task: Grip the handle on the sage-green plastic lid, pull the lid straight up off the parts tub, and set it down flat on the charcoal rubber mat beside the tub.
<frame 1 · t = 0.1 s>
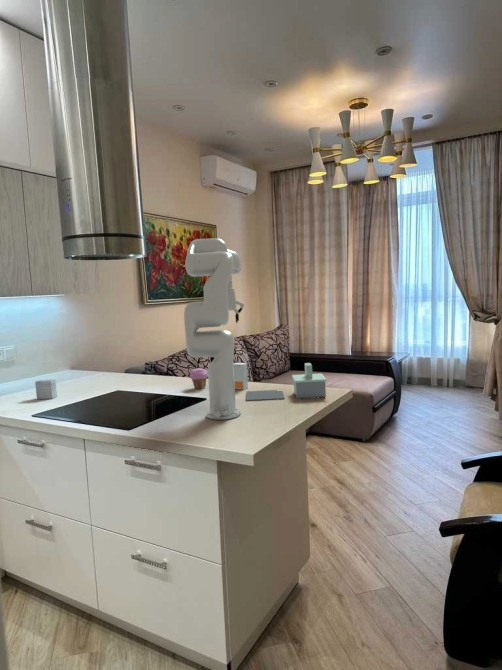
hand: (226, 323, 205), 31 cm above the countertop, tool pointing down, fingers open, 9 cm apart
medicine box: (47, 398, 209), on the countertop
tub: (309, 395, 188), on the countertop
cupcake: (199, 388, 213), on the countertop
lid: (308, 378, 187), point 7 cm above the countertop, touching tub
mat: (264, 395, 191), on the countertop
skincare box: (240, 388, 208), on the countertop
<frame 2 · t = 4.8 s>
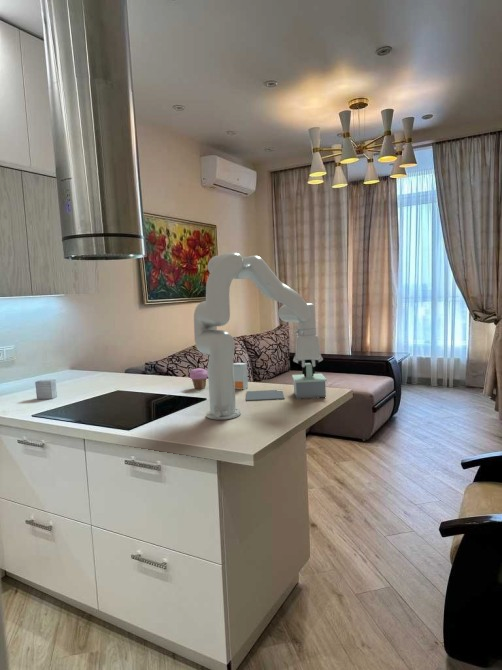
hand: (308, 375, 187), 8 cm above the countertop, tool pointing down, fingers closed on lid, 2 cm apart
lid: (308, 378, 187), point 7 cm above the countertop, touching gripper, tub
everything else where it was.
when the fingers open (4 cm above the countertop, at t = 12.0 s): lid drops 1 cm, resting on mat.
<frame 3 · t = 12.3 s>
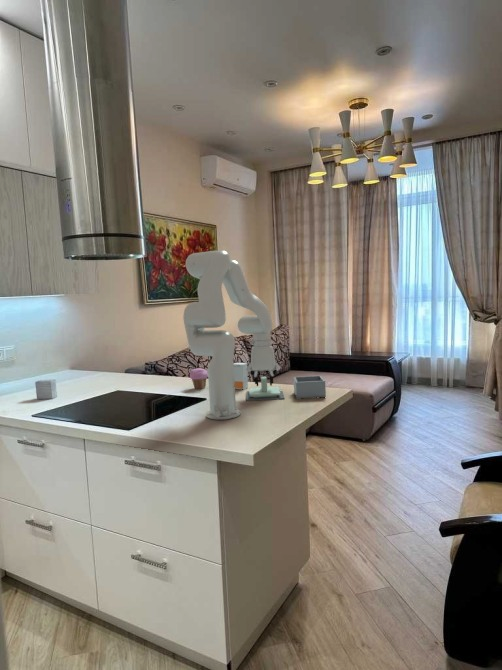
hand: (264, 384, 190), 5 cm above the countertop, tool pointing down, fingers open, 5 cm apart
lid: (264, 392, 191), point 1 cm above the countertop, touching mat
everything else where it was.
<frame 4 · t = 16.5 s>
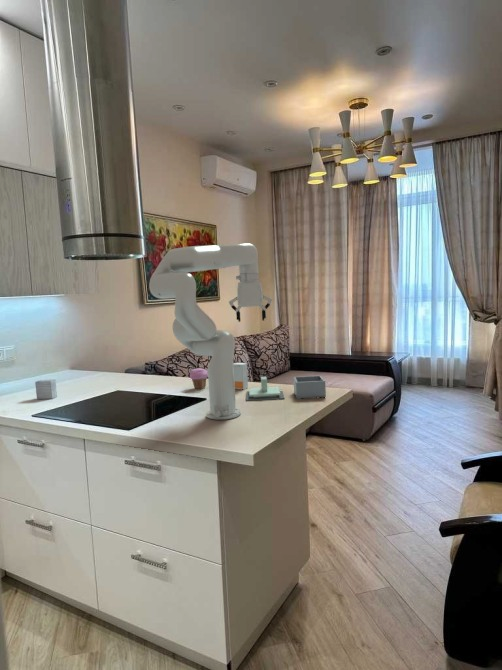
hand: (251, 321, 178), 33 cm above the countertop, tool pointing down, fingers open, 9 cm apart
nothing on the countertop moved.
at the end: lid inside the target area on the mat (0.1 cm from its centre), point 1.5 cm above the mat's base; lid tilted 0°; the gripper is holding nothing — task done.
